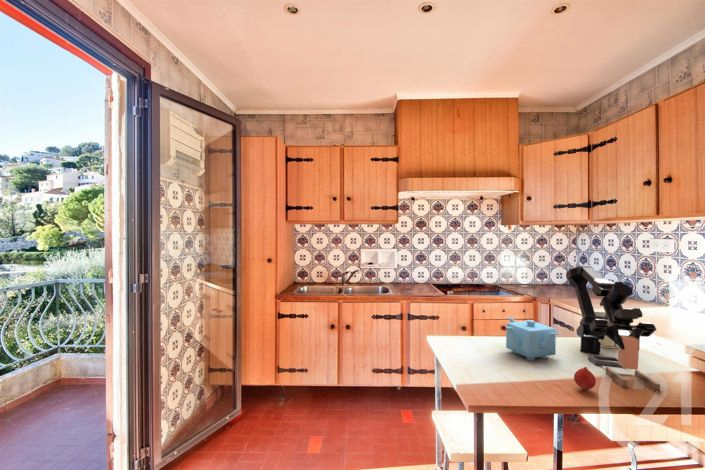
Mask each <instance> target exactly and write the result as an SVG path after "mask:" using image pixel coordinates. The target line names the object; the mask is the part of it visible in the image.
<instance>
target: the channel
mask: <svg viewBox="0 0 705 470" xmlns="http://www.w3.org/2000/svg"><path fill="white" fill-rule="evenodd" d="M604 370H605V369H604ZM605 375H607V376H608V377H609V378H611V379H612V380H613V381H614V382H615V383H617V384H618V385H619V386H620V387H621V388H623V389H628V383H629V382H628V380H627V379H626V378H625V377H623V375H619V374H618V373H616V372H615V371H614V370H612V369H611V368H610V367H606V370H605ZM634 377H635V378H636V377H637V378H639V379H640V380H642V381H643V382H644V383H645V384H644V383H643V382H642V383H643V384H644V385H646V384H647V385H648V386H647V385H646V386H647V387H649V386H650V387H651V388H652V390H653V389H654V390H655V391H654V390H653V391H654V392H656V391H658V393H661V384H660V382H657V381H656V380H654V379H653V378H651V377H650V376H649V375H647V374H645V373H643V372H642V371H640V369H638V370H636V369H634ZM637 378H636V379H637ZM639 379H638V380H639ZM640 380H639V381H640ZM650 387H649V388H650ZM651 388H650V389H651Z"/></svg>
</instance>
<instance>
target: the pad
mask: <svg viewBox="0 0 705 470" xmlns="http://www.w3.org/2000/svg"><path fill="white" fill-rule="evenodd" d="M600 367H601V368H602V369H603V370H606V367H608V366H600ZM610 368H611V369H612V370H614V371H615V372H616V373H618V374H619V375H620V376H628V375H629V376H628V377H632V376H633V374H632V373H631V372H629V371H627V370H626V368H618V367H610Z"/></svg>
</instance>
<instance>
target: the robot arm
mask: <svg viewBox="0 0 705 470" xmlns="http://www.w3.org/2000/svg"><path fill="white" fill-rule="evenodd" d="M565 273H566V274H565V277H566V279H567V282H568V284H569V285H570V286H571V287H573V288H574V291H575V295H576V299H577V302H578V306H579V308H580V309H579V310H580V313H581V319H580V322H579V326H578V327H577V329H575V330H576V335H577V337H580V349H579V351H580V352H583V353H587V354H591V355H598V356H600V353H601V346H600V345H601V342H599V339H602V340H604V337H605V335H606V336H607V337H609V338H610V339H611V340H612V341H614V342H615V343H616V344H617V345H618V348H619V347H620V348H621V349H622V350H624V349H625V348H624V344H623V342H622V340H621V337H620V335H621V334H619V333H620V332H619V331H628V332H629V334H628V336H633V337H635V338H636V339H638V340H639V344H640V340H641V339H640V338H641V337H645V338H646V337H651V335H653V334H654V333H655V332H656V331H657V330H658V329H657V327H656V325H655V324H654V323H651V322H644V321H643V322H641V321H639V323H637V325H633V324H634V323H633V322H634V320H638V319H640V318H643V316H644V315H643V311H642V310H641V309H640V307H639V308H638V307H634V308H631V309H630V308H623V304H626V303H627V301H628V300H629V298H631V296H632V295H633V293H634V291H633V288H631V287H630V286H629V285H627V284H624V283H623V281H621V280H620V281H617V280H616V281H615V282H613V281H611V280H607V279H605V278H603V277H602V276H601V275H600V274H599V273H598V272H597V271H595V270H594V268H593V266H592V265H585V264H584V265H578V266H576V267H574V268H570V269H568V271H566V272H565ZM588 283H589V284H590V285H591V286H592V287H591V291H592V292H593V294H594V295H595V296H596V297H602V299H601V300H600V302H599V306H600V307H603V310H604V313H606V315H605V318H606V319H608V320H609V322H608V321H607V320H605V319H602V318H601V317H597V316H596V315H595V312H596V311H595V309H594V306H593V303H592V300H591V296H590V293H589V289H588V286H587V285H588Z"/></svg>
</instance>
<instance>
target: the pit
mask: <svg viewBox="0 0 705 470" xmlns="http://www.w3.org/2000/svg"><path fill="white" fill-rule="evenodd" d="M587 355H588V357H587V359H588V361H590V363H592V364H593V365H594V366H598V367H599V366H600V367H601V366H608V367H618V368H623V367H622V366H621V365H619V364H618V356H617V357H616V356H607V355H596V354H587ZM623 369H624V368H623Z"/></svg>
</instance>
